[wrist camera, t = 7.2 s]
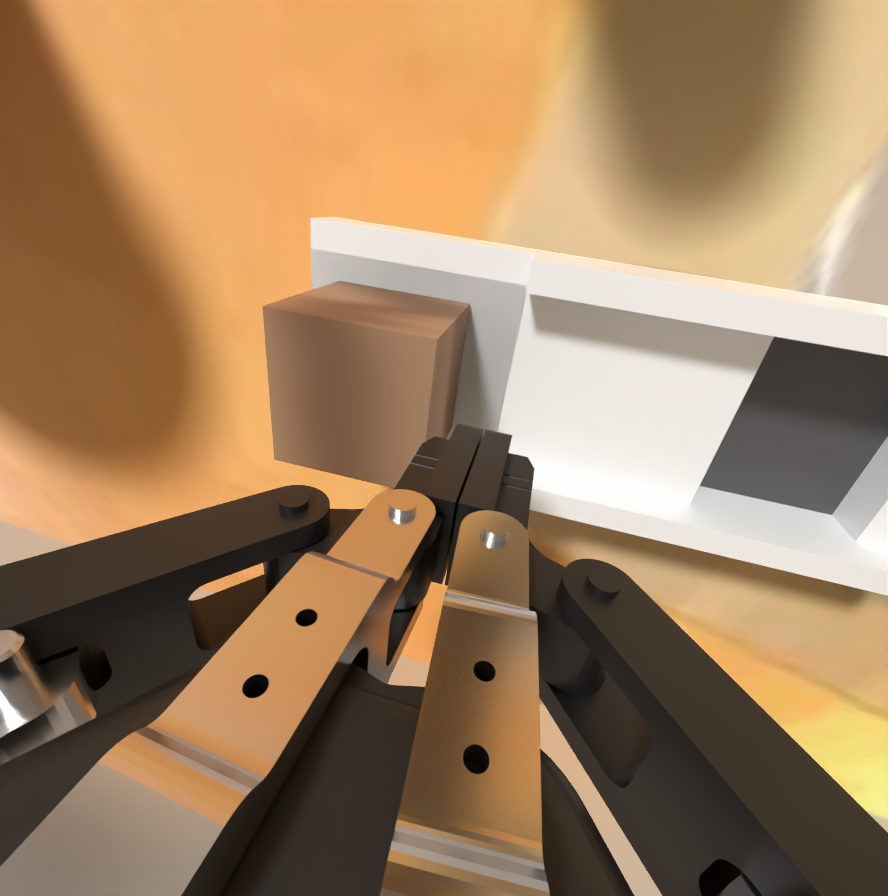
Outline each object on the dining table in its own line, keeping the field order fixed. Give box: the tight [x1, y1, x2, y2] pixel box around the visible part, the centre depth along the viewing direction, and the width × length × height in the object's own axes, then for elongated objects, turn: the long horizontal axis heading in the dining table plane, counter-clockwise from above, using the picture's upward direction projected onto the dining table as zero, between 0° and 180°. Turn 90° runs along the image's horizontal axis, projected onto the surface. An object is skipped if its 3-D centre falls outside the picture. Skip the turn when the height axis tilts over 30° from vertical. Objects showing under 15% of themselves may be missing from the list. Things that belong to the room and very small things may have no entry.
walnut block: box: [263, 281, 470, 488], centre depth 15 cm, size 5×5×5 cm
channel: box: [310, 217, 888, 595], centre depth 17 cm, size 24×9×4 cm, turn 82°
